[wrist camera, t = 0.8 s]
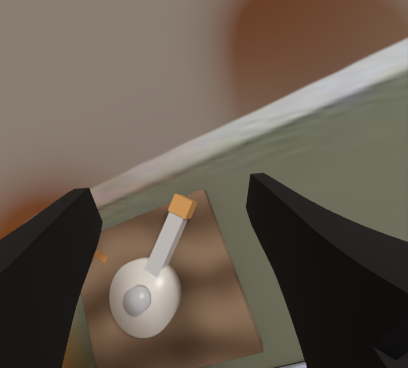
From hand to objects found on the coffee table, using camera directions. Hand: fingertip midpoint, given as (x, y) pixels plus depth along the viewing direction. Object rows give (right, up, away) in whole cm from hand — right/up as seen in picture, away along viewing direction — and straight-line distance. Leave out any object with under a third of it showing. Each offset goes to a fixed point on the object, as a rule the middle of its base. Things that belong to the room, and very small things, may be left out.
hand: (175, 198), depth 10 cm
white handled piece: (-3, -7, +12) cm, 15 cm away
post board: (-4, -11, +14) cm, 18 cm away
